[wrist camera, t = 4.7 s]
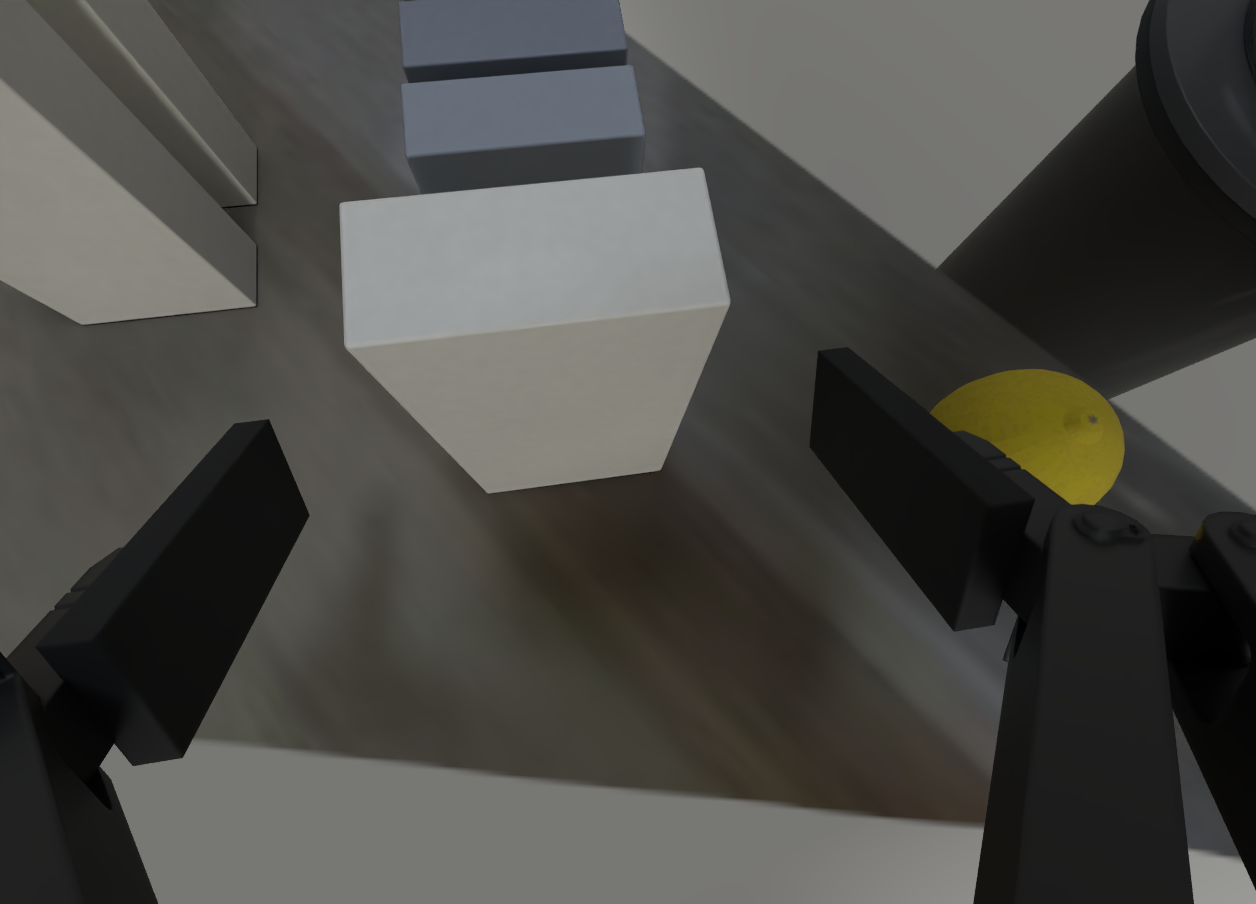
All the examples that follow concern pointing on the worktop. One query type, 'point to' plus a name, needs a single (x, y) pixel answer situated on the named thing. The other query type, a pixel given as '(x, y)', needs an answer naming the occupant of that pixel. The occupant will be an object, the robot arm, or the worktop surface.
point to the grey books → (517, 93)
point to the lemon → (1043, 428)
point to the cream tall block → (539, 319)
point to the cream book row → (117, 167)
